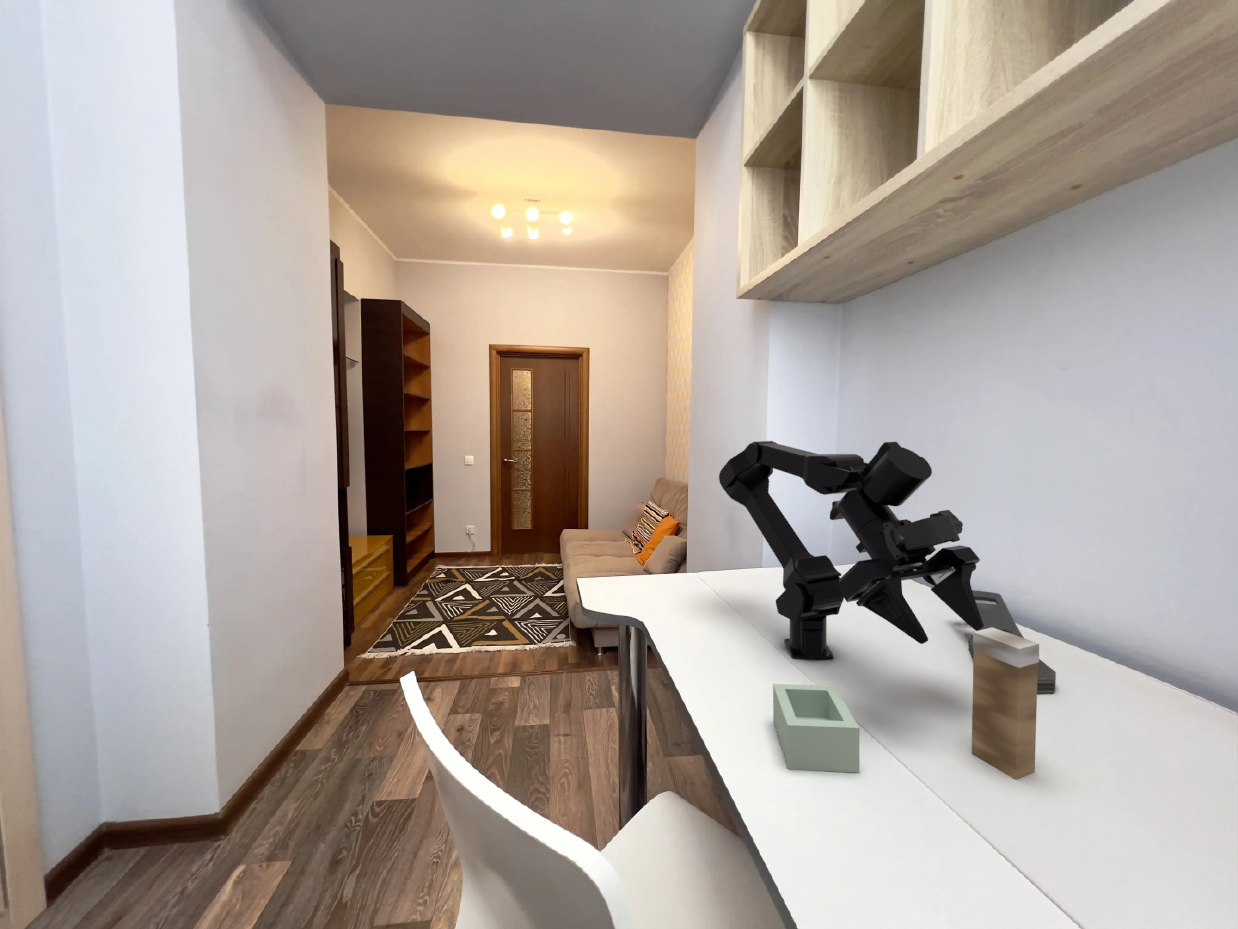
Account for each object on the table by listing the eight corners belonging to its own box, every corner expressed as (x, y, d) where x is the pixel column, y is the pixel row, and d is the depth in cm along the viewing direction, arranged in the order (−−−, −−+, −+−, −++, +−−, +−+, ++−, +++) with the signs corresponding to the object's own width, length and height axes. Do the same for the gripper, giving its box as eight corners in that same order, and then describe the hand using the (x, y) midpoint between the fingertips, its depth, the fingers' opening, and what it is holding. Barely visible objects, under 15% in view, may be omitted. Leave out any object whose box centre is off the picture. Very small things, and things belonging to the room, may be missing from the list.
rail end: (970, 753, 57) (973, 632, 56) (989, 746, 58) (992, 627, 57) (1015, 780, 53) (1019, 649, 52) (1035, 772, 54) (1039, 643, 53)
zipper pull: (1002, 592, 90) (1067, 651, 67) (1002, 628, 91) (1066, 699, 67) (944, 587, 93) (986, 642, 70) (943, 622, 94) (985, 688, 71)
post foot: (773, 722, 64) (773, 683, 64) (834, 724, 63) (834, 685, 63) (787, 769, 55) (787, 725, 55) (859, 772, 54) (859, 728, 54)
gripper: (856, 495, 60) (943, 616, 51) (965, 484, 67) (1061, 590, 57) (810, 547, 68) (878, 660, 59) (912, 533, 75) (988, 633, 65)
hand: (953, 635), depth 60 cm, fingers open, 9 cm apart
